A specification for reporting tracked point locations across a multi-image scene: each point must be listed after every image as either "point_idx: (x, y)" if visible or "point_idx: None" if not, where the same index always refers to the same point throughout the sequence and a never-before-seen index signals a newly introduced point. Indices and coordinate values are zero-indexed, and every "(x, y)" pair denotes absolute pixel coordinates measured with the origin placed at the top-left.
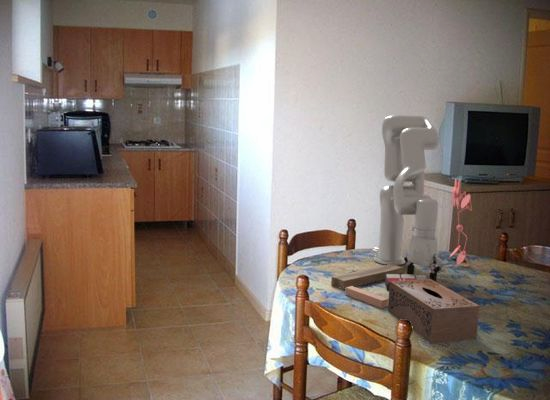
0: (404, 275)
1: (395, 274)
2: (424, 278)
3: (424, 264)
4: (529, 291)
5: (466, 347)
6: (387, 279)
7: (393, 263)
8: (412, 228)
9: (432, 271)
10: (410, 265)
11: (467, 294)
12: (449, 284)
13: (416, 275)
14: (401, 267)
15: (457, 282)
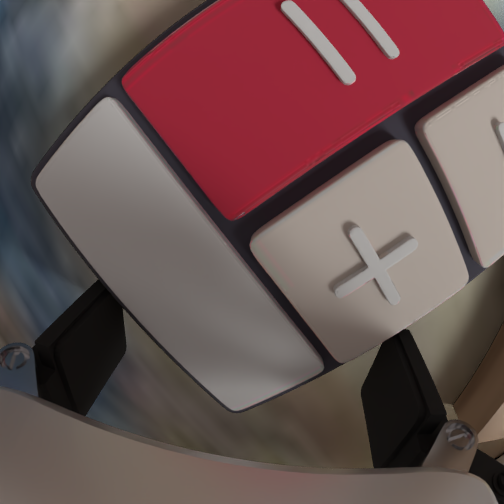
0: (423, 263)
1: None
2: (166, 316)
3: (27, 424)
4: None
5: None
6: (494, 26)
7: (501, 462)
8: None
9: (20, 361)
10: (416, 444)
11: (4, 326)
12: (149, 427)
13: (305, 364)
14: (479, 437)
15: None
